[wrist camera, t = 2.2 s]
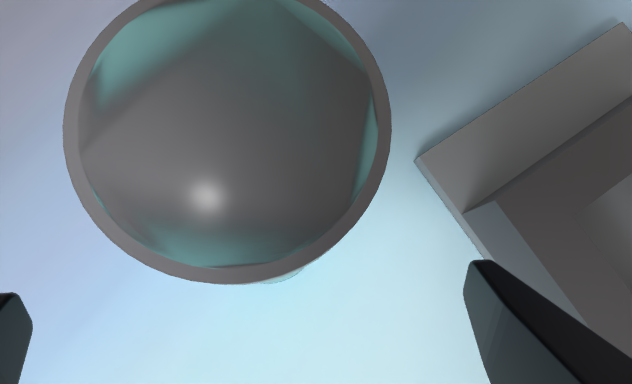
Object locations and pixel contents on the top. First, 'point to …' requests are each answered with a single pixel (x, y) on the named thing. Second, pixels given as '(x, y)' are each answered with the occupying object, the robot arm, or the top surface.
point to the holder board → (537, 135)
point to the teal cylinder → (227, 135)
